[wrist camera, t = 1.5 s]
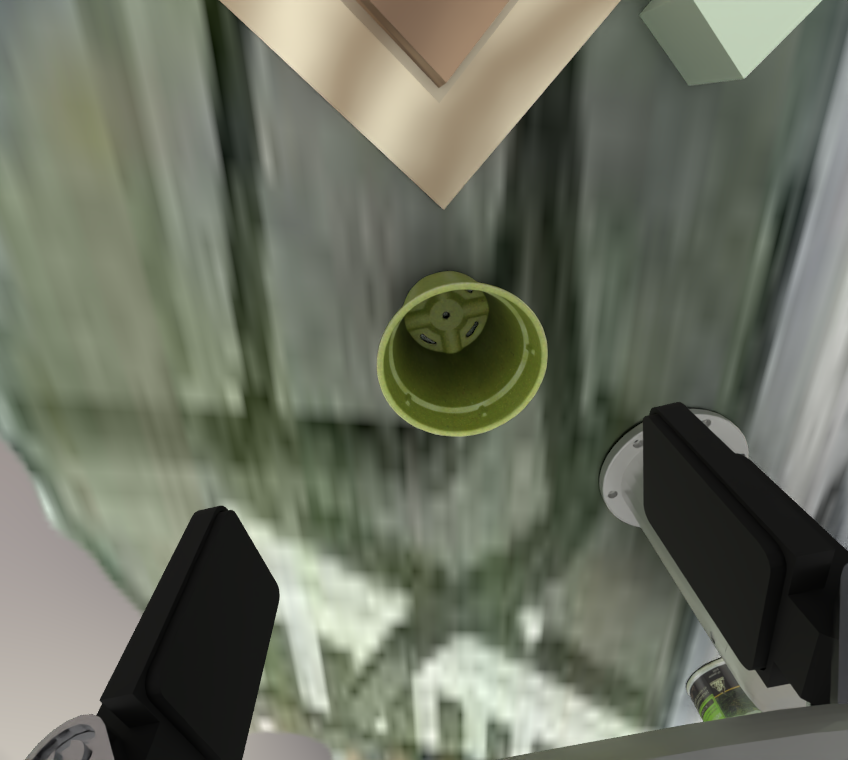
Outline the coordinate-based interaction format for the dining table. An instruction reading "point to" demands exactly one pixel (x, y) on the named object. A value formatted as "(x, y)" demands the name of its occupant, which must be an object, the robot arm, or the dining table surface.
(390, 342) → the plant pot
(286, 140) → the dining table surface
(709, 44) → the sage cube
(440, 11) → the walnut base block
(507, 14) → the plate
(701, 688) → the coffee can
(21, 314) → the dining table surface
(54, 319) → the dining table surface
